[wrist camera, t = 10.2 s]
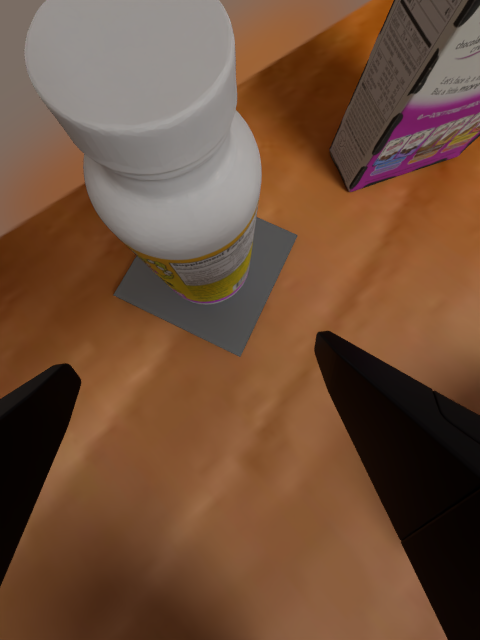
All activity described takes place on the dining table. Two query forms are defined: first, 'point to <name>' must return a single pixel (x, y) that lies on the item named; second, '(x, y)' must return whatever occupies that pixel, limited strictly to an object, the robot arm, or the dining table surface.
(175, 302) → the slate coaster
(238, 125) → the supplement bottle
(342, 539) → the dining table surface
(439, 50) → the candy bar box
